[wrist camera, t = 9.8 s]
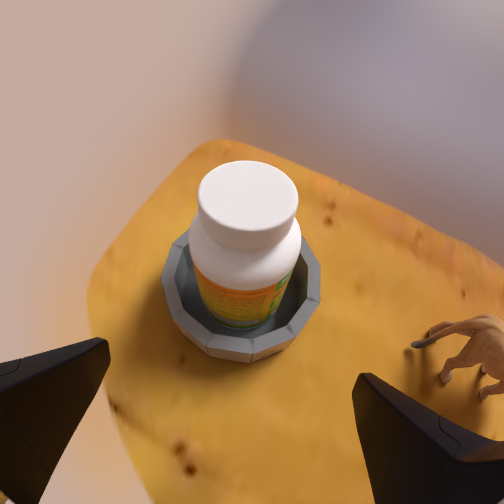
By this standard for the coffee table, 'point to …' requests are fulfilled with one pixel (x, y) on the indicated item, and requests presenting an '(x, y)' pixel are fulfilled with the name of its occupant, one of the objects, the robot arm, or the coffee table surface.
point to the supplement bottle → (244, 242)
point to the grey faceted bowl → (230, 340)
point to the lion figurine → (474, 348)
